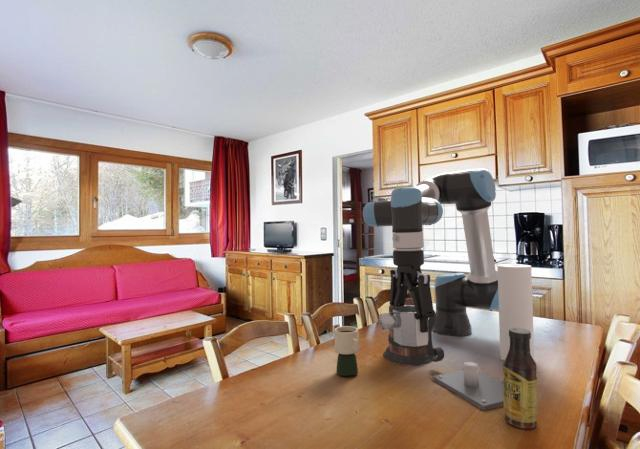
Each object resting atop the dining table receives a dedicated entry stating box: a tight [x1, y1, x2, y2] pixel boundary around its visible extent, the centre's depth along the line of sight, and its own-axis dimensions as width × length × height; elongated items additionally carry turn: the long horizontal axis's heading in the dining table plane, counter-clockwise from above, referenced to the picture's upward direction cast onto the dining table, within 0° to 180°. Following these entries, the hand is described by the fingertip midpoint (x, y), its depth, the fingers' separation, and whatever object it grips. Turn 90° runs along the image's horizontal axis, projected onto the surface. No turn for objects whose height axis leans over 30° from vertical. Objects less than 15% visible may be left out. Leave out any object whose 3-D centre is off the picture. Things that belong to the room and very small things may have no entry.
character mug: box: [333, 325, 360, 377], centre depth 102 cm, size 11×7×13 cm, turn 30°
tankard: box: [382, 293, 445, 367], centre depth 113 cm, size 24×17×20 cm
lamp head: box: [378, 305, 429, 347], centre depth 87 cm, size 12×8×8 cm, turn 110°
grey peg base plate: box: [432, 361, 504, 411], centre depth 91 cm, size 18×14×6 cm
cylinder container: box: [496, 263, 535, 361], centre depth 111 cm, size 9×9×30 cm
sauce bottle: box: [502, 328, 538, 430], centre depth 74 cm, size 6×6×20 cm
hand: (411, 339), depth 88 cm, fingers closed on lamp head, 8 cm apart
